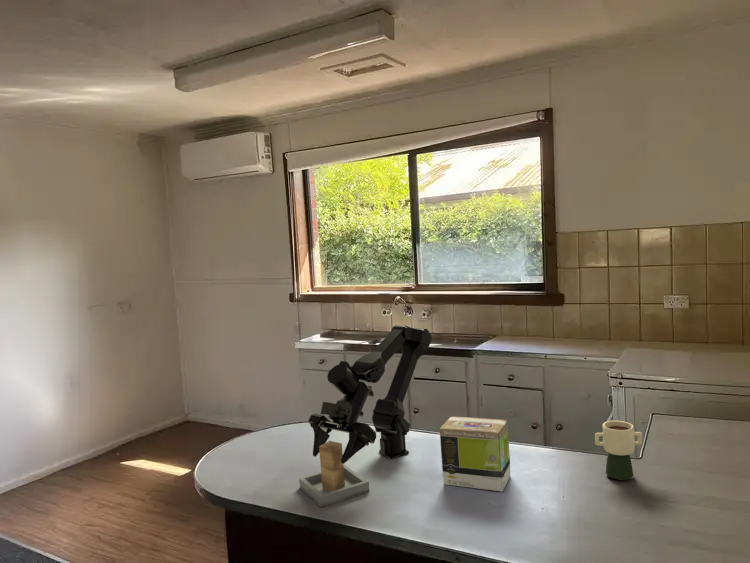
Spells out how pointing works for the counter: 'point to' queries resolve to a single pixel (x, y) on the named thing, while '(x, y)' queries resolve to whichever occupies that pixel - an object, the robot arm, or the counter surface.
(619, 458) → the character mug
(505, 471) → the tea box
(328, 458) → the oak post
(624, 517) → the counter surface
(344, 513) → the counter surface
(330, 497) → the tray
